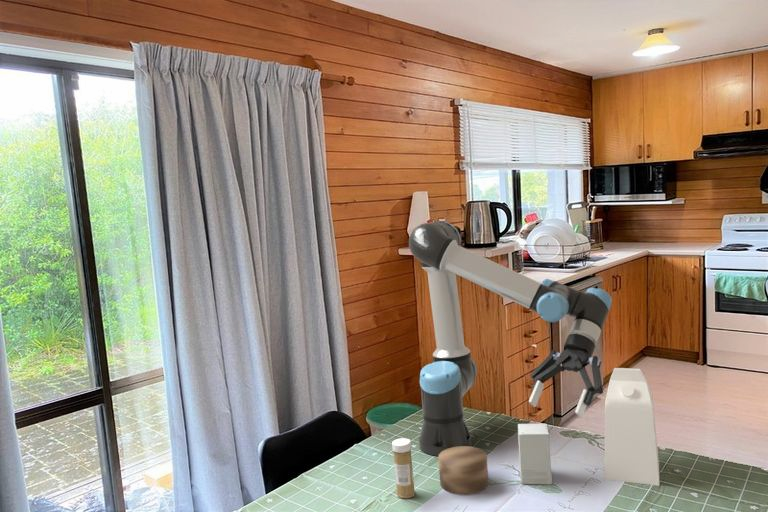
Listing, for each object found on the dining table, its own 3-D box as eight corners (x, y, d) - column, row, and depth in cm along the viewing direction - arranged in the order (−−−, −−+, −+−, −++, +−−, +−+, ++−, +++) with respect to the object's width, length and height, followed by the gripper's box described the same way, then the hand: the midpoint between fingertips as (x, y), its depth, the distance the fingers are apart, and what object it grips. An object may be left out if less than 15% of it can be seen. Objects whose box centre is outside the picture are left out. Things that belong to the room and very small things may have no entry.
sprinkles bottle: (418, 491, 141) (413, 438, 140) (410, 500, 137) (405, 446, 136) (401, 488, 144) (397, 436, 143) (393, 497, 140) (388, 443, 139)
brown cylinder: (431, 480, 147) (429, 453, 147) (470, 468, 152) (468, 442, 152) (457, 500, 136) (454, 471, 136) (498, 486, 141) (496, 458, 141)
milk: (658, 464, 145) (654, 363, 143) (659, 485, 135) (654, 377, 133) (608, 459, 150) (602, 361, 148) (604, 479, 140) (599, 374, 138)
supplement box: (552, 485, 139) (549, 434, 138) (521, 484, 141) (517, 434, 140) (550, 471, 147) (547, 422, 146) (520, 470, 148) (517, 423, 147)
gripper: (632, 353, 149) (606, 427, 141) (548, 342, 168) (521, 406, 160) (620, 337, 145) (593, 412, 137) (536, 327, 164) (507, 393, 156)
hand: (554, 409), depth 148 cm, fingers open, 13 cm apart
